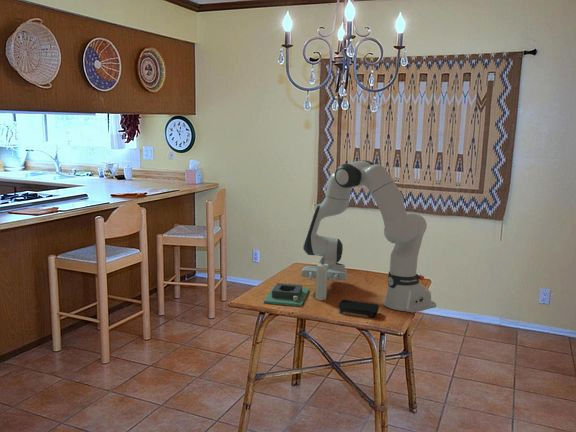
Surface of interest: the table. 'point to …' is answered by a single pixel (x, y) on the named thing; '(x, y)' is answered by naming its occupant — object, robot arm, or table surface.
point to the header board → (287, 295)
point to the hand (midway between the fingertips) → (322, 278)
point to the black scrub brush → (358, 308)
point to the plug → (321, 280)
